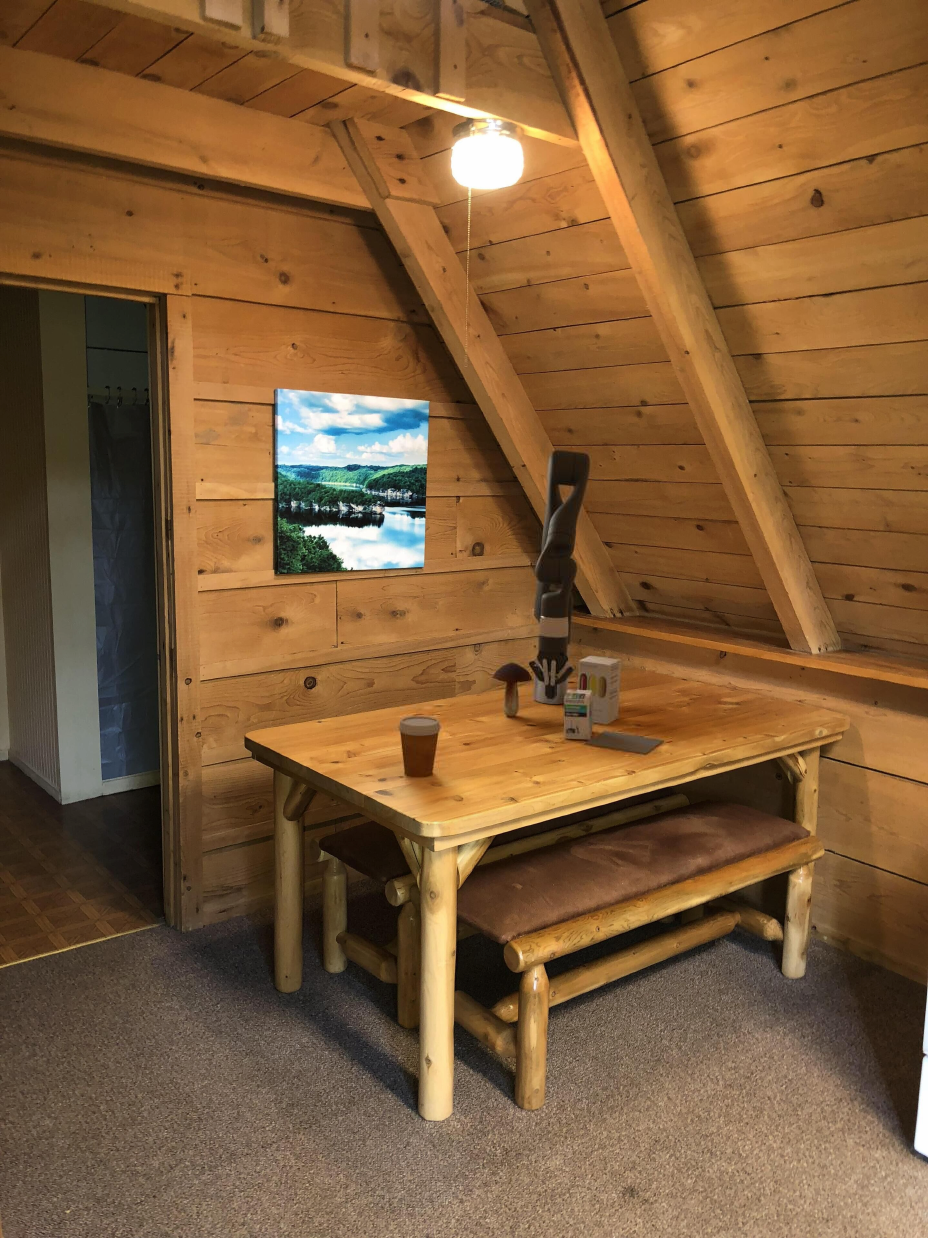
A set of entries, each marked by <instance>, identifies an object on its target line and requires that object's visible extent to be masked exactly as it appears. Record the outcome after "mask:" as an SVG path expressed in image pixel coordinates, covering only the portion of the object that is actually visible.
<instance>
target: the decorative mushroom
mask: <svg viewBox="0 0 928 1238" xmlns="http://www.w3.org/2000/svg"><path fill="white" fill-rule="evenodd" d="M491 679H495V680H497V681H500V682H505V683H506V684H505V689H504V693H503V695H504V696H503V703H502V704H503V706H502V709H503V713H504V715H505V716H507V717H515V716H516V715H517V714H518V712H519V705H520V704H519V702H520V701H519V699H520V697H519V690H518V683H525V682H531V681H532V680H533V677H532V675H531V674H530V672H529V670H527V669H526V668H524V667H523V666H521V665H520V664H518V663H515V662H508V663H506V664H504V665H502V666H500V667H499V668H498V669H497V670H496V671H495V672H494V674H493V675H492V677H491Z"/></svg>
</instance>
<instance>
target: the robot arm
mask: <svg viewBox="0 0 928 1238" xmlns="http://www.w3.org/2000/svg"><path fill="white" fill-rule="evenodd" d="M590 469H591V458H590V456H589V454H588V453H585V452H580V451H570V450H561V449H558V450H557V449H555V450H553V451H552V452H551V454H550V456H549V459H548V467H547V483H546V485H547V487H546V488H547V489H546V507H545V513H544V514H545V515H544V521H543V522H544V523H543V528H542V529H543V530H542V539H541V540H542V541H541V552H540V553H541V554H540V555H539V558H538V560H537V562H536V564H535V568H534V573H535V575H534V576H535V577H536V579H537V586H536V590H535V591H536V592H535V598H534V615H535V618H536V619H537V620H539V625H538V627H539V628H538V645H537V655H536V657H535V659H533V660H531V661H529V662H528V665H529V667H530V669H531V670H532V672H533V675H534V676H533V695H532V696H533V697H532V698H533V701H536V702H539V703H541V704H542V703H543V704H548V705H549V704H550V705H558V704H559V705H560V704H564V698H565V695H566V693H567V691H568V690H569V677H570V676H571V675H572V673H573V672H574V671H575V670H576V669H577V667H576V665H574V664H573V665H572V663H570V648H571V647H570V646H571V632H572V631H571V629H572V617H573V609H574V597H573V592H572V588H573V585H574V582H575V579H576V577H577V574H578V573H577V572H578V566H577V565H578V564H577V562H576V560H575V559H574V558H572V556H573V554H574V550H575V548H576V546H575V544H576V537H577V524H578V520H579V516H580V511H581V509H582V505H583V501H584V498H585V493H586V490H587V484H588V480H589V476H590ZM560 486H566V487H567V486H569V487H574V488H573V491H572V493H571V494H570V495H569V496H568V498H567V499H566V500H565V501H563V498H562V494H561V490H560ZM552 584H553V585H561V587H560V588H551V586H552Z"/></svg>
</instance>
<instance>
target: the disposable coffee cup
mask: <svg viewBox="0 0 928 1238" xmlns="http://www.w3.org/2000/svg"><path fill="white" fill-rule="evenodd" d="M397 728H398V730H399V733H400V743H401V751H402V760H403V769H404V774H405V775H407V776H409V777H413V778H425V777H430V776H432V775H433V773H434V772H433V771H434V765H435V759H436V751H437V746H438V740H439V739H438V737H439V733H440V730H441V728H442V725H440V721H439V719H438V718H435V717H433V716H432V717H431V716H426V715H425V716H424V715H414V716H406V717H403V718H401V719H400V721H399V724H398V725H397Z"/></svg>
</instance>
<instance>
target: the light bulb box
mask: <svg viewBox="0 0 928 1238" xmlns="http://www.w3.org/2000/svg"><path fill="white" fill-rule="evenodd" d="M563 707H564V709H563V710H564V711H563V715H564V716H563V717H564V719H563V721H564V722H563V723H564V729H563V730H564V731H563V732H564V733H563V735H564V739H567V740H568V739H571V740H572V739H573V740H587V741H589V740H590V739H591V738H592V737H591V736H592V734H593V730H594V723H593V691H592V690H577V689H570V688H568V691H567V693H566V695H565V698H564V703H563Z"/></svg>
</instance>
